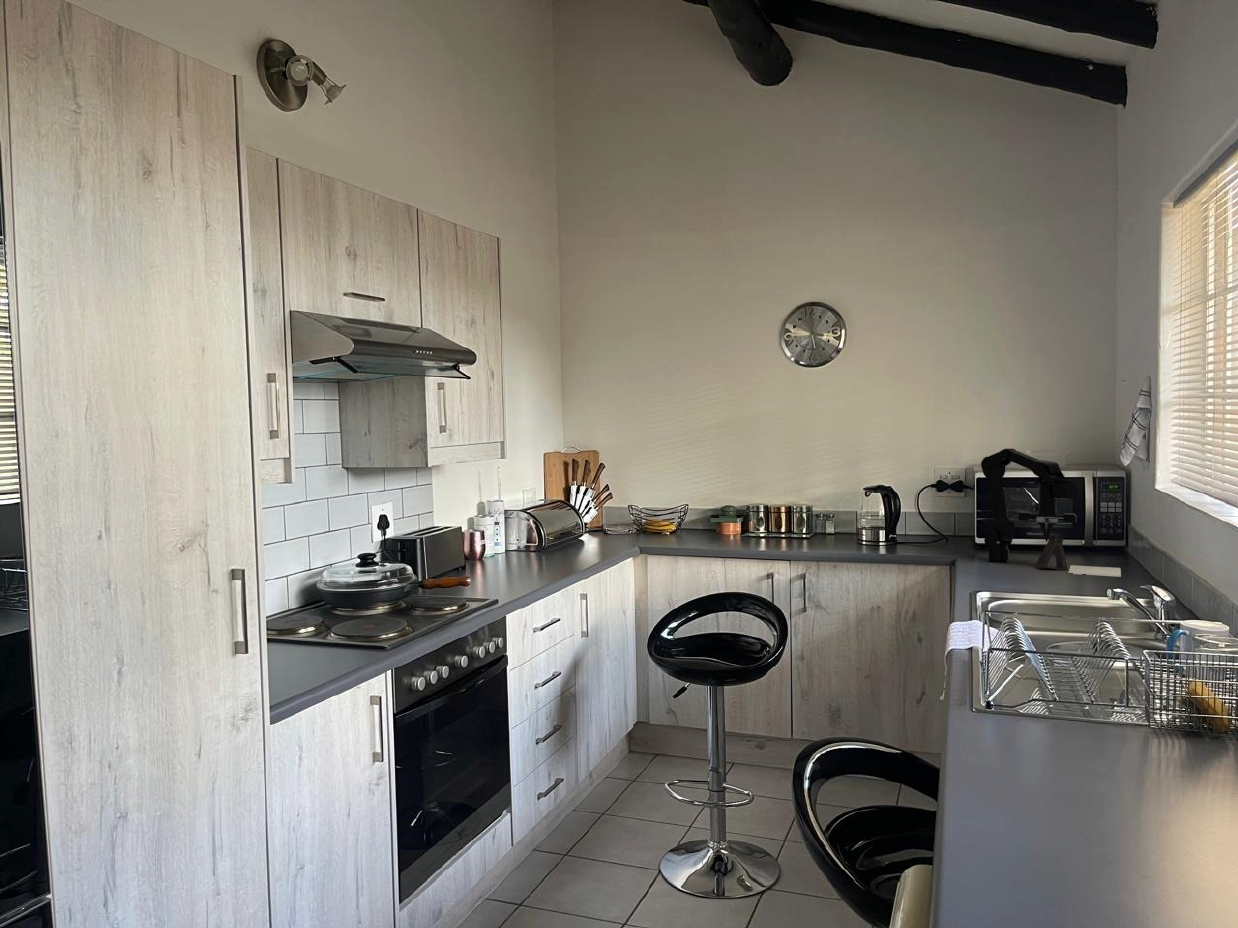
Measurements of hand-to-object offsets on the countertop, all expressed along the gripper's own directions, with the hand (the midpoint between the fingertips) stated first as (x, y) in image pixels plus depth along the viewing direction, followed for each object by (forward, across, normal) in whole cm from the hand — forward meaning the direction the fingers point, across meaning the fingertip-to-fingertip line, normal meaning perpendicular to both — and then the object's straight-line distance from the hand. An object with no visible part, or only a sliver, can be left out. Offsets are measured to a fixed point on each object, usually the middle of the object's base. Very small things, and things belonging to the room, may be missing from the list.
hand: (1046, 541), depth 347 cm
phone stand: (+9, -2, 0) cm, 10 cm away
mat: (+10, -16, 0) cm, 18 cm away
